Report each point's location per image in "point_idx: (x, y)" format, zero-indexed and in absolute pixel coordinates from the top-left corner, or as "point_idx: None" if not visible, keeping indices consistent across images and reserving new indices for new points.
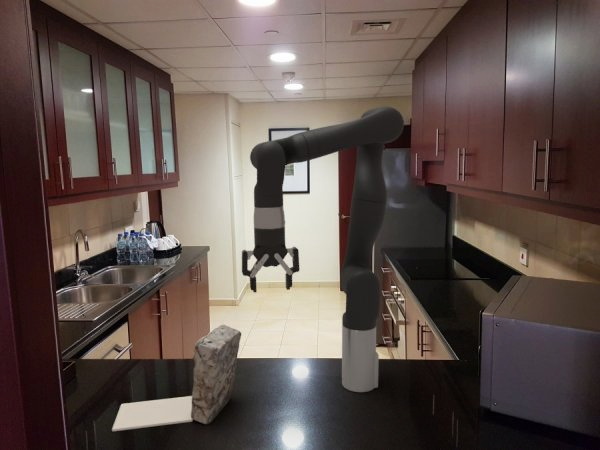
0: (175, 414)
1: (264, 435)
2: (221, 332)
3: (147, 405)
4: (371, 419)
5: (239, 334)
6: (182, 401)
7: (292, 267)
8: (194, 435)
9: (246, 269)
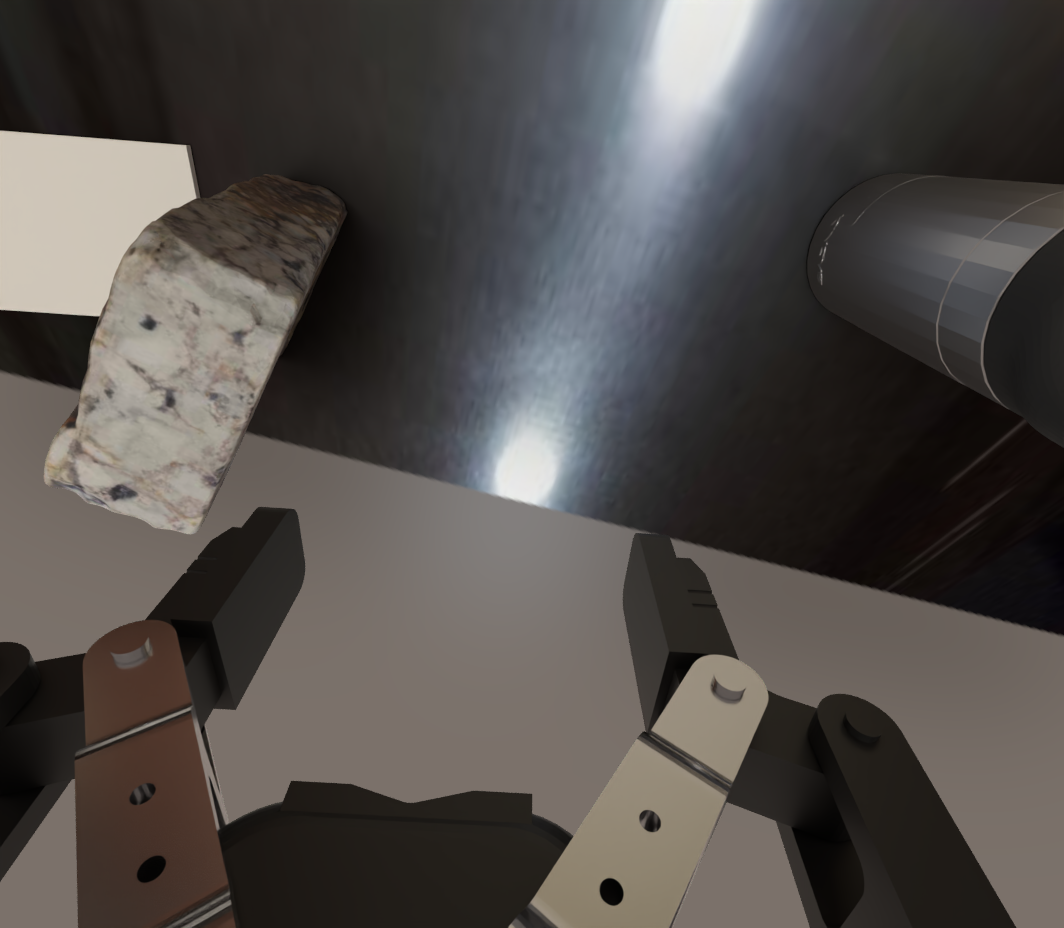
0: None
1: (450, 448)
2: (157, 384)
3: (6, 170)
4: (769, 462)
5: (286, 337)
6: (147, 182)
7: (788, 786)
8: None
9: (10, 838)
